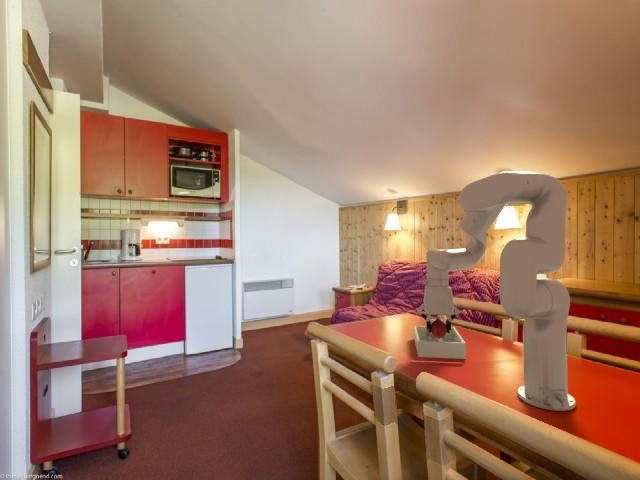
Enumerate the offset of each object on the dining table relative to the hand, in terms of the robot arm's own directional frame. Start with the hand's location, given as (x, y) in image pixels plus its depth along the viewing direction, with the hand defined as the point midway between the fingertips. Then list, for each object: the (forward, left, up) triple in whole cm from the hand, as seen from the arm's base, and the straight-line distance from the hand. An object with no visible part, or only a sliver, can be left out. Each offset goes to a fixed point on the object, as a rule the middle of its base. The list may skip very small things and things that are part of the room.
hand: (438, 331), depth 126 cm
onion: (0, 0, -3) cm, 3 cm away
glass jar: (+11, 0, -8) cm, 13 cm away
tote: (+5, 0, -8) cm, 10 cm away
